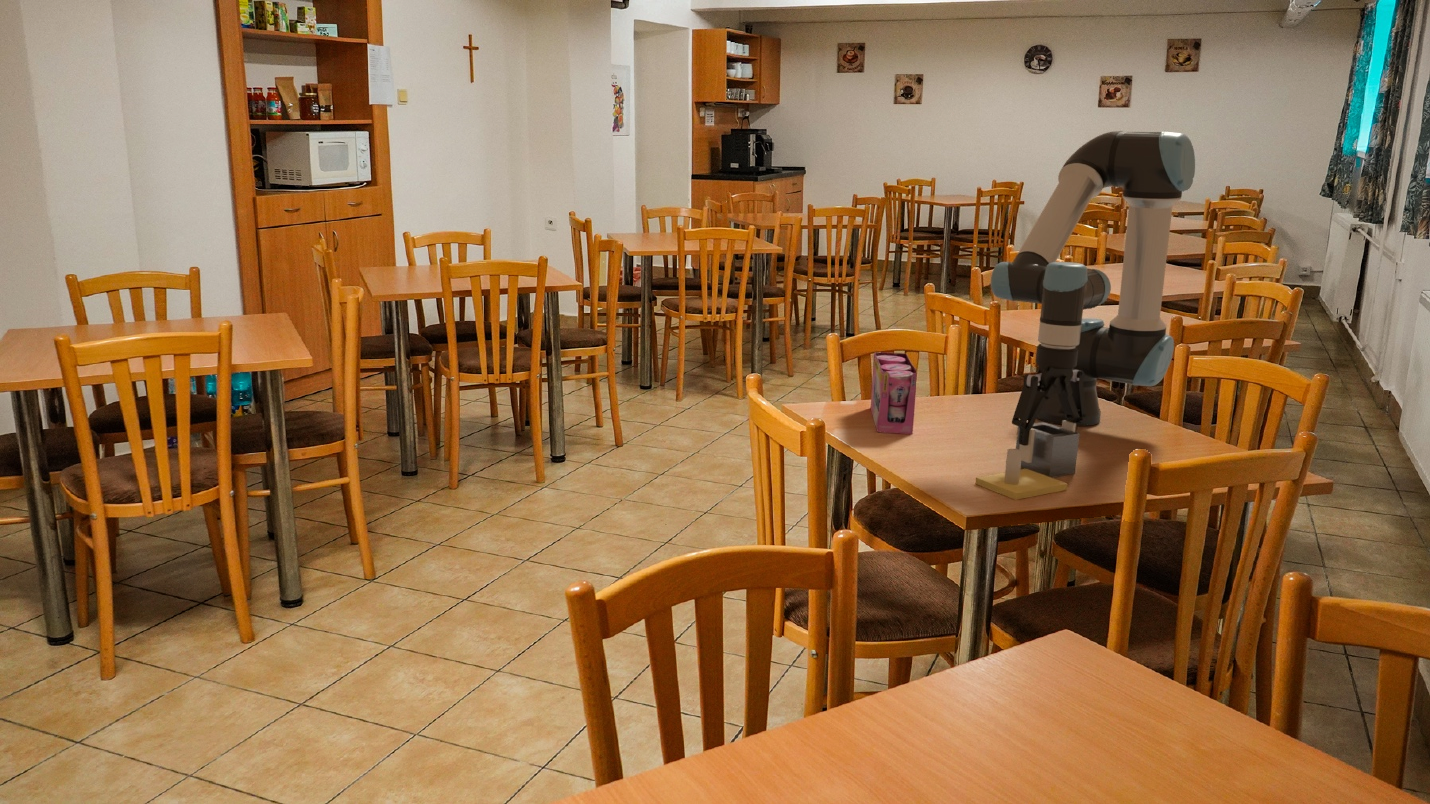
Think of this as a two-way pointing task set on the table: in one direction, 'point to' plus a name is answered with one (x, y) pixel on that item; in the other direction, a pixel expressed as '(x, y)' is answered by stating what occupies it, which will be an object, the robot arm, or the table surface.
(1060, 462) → the grey open box
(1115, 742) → the table surface
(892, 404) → the gum box
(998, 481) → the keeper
